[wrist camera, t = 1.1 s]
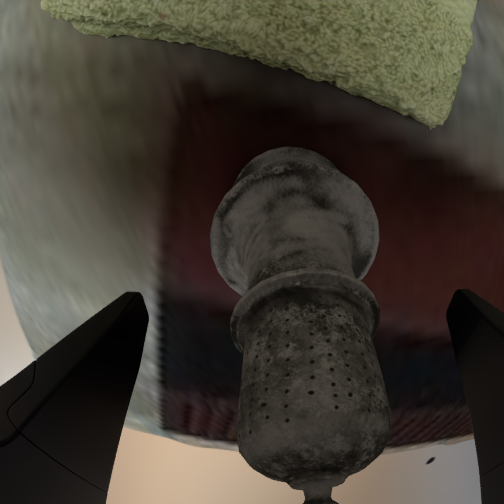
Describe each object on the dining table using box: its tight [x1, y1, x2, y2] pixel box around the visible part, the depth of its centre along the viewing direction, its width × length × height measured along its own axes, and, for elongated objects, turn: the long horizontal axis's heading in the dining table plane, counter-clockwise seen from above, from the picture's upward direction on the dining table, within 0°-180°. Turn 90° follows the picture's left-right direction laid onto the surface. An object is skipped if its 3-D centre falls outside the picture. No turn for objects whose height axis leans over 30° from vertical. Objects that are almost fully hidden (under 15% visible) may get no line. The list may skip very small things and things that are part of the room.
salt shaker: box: [210, 147, 392, 504], centre depth 8 cm, size 6×6×12 cm
